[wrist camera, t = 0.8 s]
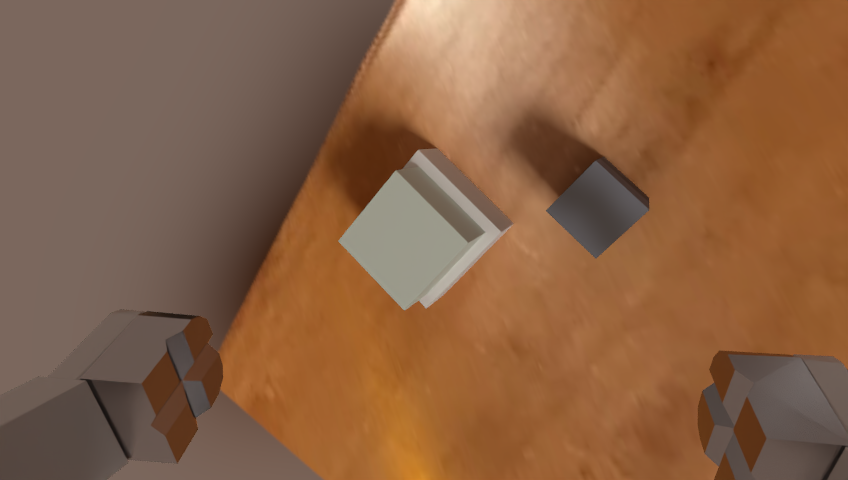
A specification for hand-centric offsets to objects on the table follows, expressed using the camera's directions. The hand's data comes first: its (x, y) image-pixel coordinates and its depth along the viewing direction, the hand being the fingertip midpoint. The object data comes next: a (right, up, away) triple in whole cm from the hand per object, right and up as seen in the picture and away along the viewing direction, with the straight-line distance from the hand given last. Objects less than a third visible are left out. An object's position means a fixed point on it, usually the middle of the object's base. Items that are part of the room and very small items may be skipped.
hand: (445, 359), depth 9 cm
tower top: (0, +3, +39) cm, 39 cm away
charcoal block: (+15, +6, +37) cm, 41 cm away
